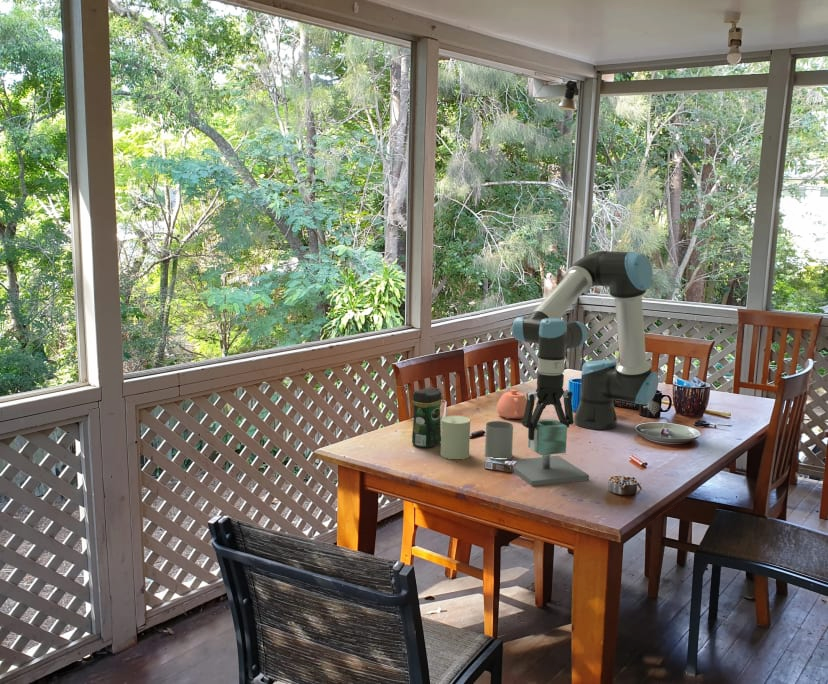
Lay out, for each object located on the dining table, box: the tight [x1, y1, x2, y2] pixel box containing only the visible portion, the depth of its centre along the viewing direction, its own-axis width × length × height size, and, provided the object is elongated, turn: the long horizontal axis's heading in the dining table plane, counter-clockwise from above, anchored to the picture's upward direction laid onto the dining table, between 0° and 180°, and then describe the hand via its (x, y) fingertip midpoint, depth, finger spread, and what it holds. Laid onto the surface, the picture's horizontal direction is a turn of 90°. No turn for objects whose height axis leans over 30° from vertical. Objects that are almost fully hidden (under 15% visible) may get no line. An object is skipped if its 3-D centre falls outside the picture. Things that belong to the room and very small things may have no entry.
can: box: [439, 415, 471, 460], centre depth 238 cm, size 9×9×12 cm
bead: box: [527, 418, 568, 456], centre depth 223 cm, size 8×8×8 cm
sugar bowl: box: [495, 389, 527, 420], centre depth 283 cm, size 12×14×10 cm
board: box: [513, 455, 590, 487], centre depth 224 cm, size 18×18×2 cm
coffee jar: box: [411, 386, 442, 448], centre depth 248 cm, size 10×8×19 cm
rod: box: [541, 454, 552, 469], centre depth 223 cm, size 2×2×9 cm
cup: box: [484, 420, 514, 460], centre depth 238 cm, size 8×8×10 cm
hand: (546, 449), depth 223 cm, fingers closed on bead, 8 cm apart
